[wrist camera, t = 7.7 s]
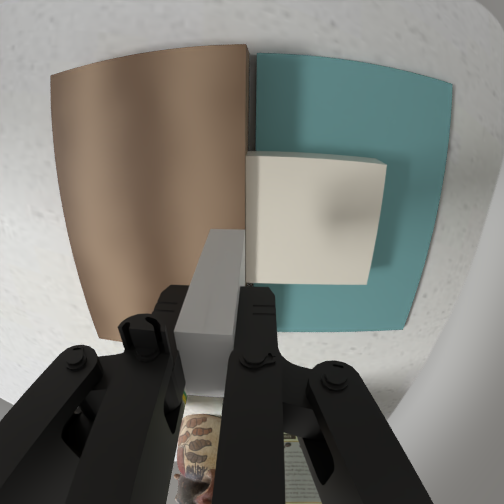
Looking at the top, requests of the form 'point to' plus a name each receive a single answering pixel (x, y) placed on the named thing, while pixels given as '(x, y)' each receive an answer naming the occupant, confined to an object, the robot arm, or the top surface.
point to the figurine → (197, 458)
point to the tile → (311, 217)
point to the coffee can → (297, 475)
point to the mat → (361, 145)
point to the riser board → (149, 169)
